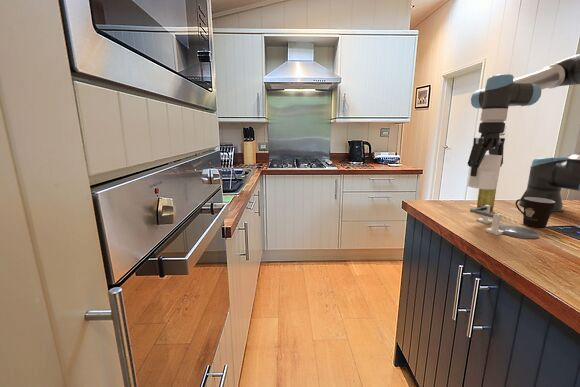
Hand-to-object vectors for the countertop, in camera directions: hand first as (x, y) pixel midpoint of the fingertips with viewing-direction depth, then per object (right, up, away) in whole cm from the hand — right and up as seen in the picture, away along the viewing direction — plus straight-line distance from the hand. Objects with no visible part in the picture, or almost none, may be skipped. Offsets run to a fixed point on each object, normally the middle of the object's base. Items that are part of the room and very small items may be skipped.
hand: (481, 184), depth 105 cm
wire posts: (+3, -15, 0) cm, 16 cm away
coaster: (+8, -17, -6) cm, 20 cm away
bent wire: (+2, -11, -2) cm, 11 cm away
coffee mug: (+20, -15, +2) cm, 25 cm away
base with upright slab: (0, -1, 0) cm, 1 cm away
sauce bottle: (+16, -11, +22) cm, 29 cm away
